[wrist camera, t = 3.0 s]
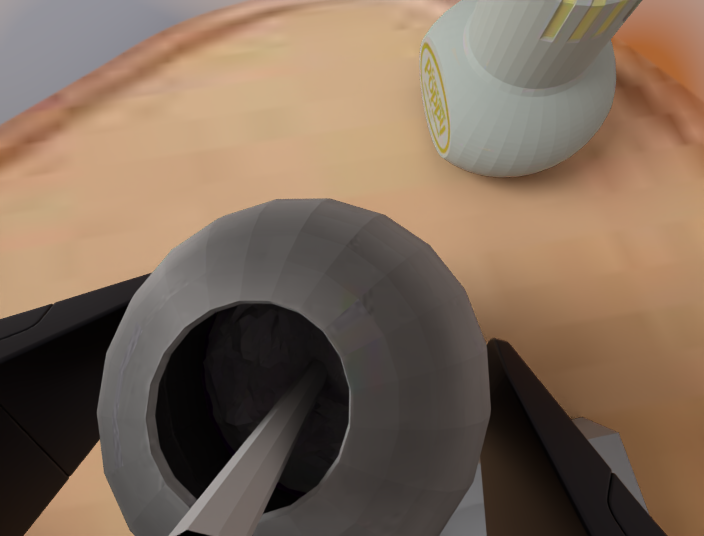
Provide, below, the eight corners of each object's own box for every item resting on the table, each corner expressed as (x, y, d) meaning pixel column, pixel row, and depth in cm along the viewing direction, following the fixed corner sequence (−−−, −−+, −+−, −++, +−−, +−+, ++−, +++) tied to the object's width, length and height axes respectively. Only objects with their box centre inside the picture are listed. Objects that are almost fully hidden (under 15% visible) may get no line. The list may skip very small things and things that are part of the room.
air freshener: (408, 63, 22) (437, -155, 12) (526, 39, 21) (654, -204, 12) (443, 206, 20) (514, 84, 10) (575, 182, 19) (784, 31, 9)
